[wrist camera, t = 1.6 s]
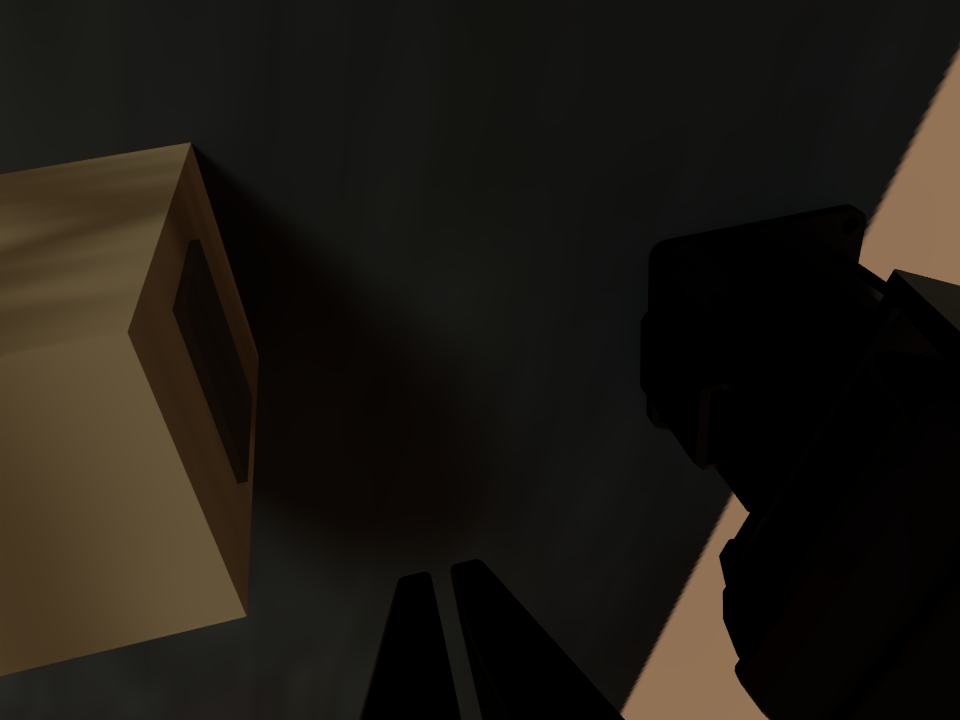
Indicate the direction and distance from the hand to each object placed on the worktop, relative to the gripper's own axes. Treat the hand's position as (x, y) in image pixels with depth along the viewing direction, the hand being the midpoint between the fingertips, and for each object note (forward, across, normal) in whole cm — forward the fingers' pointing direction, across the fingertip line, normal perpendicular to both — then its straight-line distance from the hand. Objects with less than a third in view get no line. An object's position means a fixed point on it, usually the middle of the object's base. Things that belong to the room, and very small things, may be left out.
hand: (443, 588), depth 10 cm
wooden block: (+12, +6, 0) cm, 14 cm away
